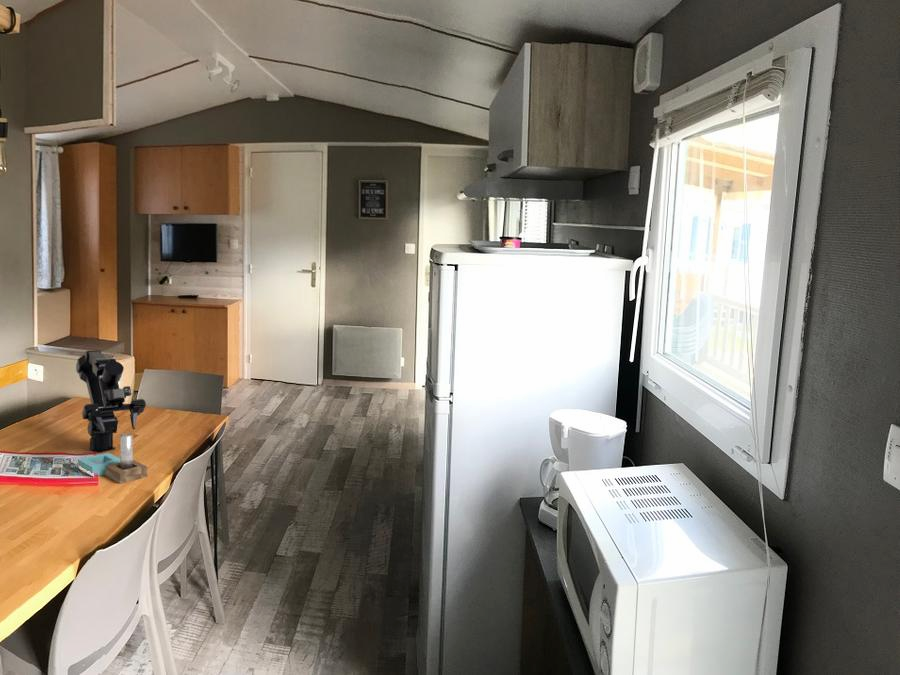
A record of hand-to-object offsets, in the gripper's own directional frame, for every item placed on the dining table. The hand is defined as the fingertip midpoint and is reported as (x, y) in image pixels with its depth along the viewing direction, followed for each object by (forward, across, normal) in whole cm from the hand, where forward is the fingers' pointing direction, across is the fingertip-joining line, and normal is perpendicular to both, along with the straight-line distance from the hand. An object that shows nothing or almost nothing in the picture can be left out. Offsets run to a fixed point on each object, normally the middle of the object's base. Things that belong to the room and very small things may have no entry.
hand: (119, 430), depth 219 cm
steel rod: (+15, 0, +4) cm, 15 cm away
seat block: (+8, -5, +11) cm, 15 cm away
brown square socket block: (+15, 0, +4) cm, 15 cm away
